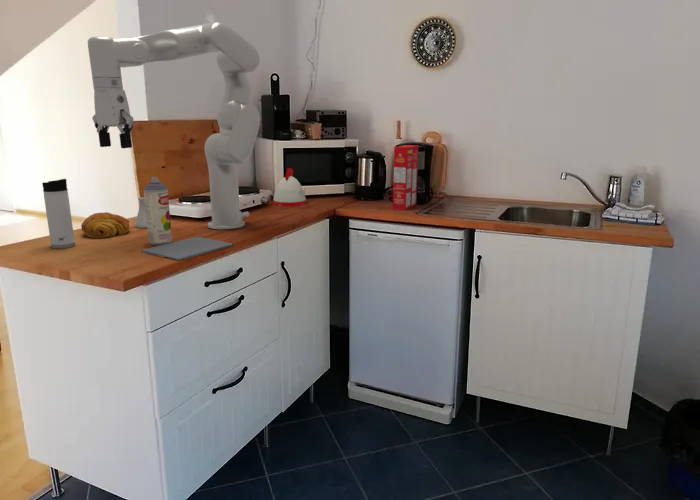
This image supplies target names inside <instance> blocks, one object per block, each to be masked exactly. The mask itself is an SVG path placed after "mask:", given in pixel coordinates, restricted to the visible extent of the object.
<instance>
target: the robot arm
mask: <svg viewBox="0 0 700 500" xmlns="http://www.w3.org/2000/svg"><path fill="white" fill-rule="evenodd" d="M87 49H88V56H89V65H90V71H91V79H92V80H91V81H92V85H93V91H94V93H93V95H94V96H93V97H94V98H93V99H94V100H93V101H94V112H95V114H94V115H93V116H92V118H91V119H92V121H93V123H94V127H95V129H96V132H97V133H98V141H99V147H101V148H106V147H111V146H112V143H111V135H110V133H111V132H108V131H109V129H110V127H113V128H114V127H117V130H119V143H120V148H121V149H130V148H132V147H133V144H132V143H133V142H132V135H131V134H132V131H133V127H134V125H133V123H134V117H133V116H132V115H131V112H130V107H129V101H128V98H127V94H126V91H125V89H124V84H123V79H122V77H123V76H122V69H121V68H131V67H132V68H135V67H140V66H143V65H145V64H147V63H153V62H165V61H166V62H170V61H174V60H175V61H176V60H182V59H186V58H191V57H196V56H201V55H206V54H212V53H217V54H216V64H217V66H218V68H219V70H220V72H221V74H222V75H223V78H224V83H225V86H224V92H223V95H222V99H221V101H220V106H219V109H218V113H217V118H216V120H217V124H218V126H219V127H220V128H221V129H222V130H224V131H227V132H230V133H225V132H224V133H223V132H218V133H213V134H211V135H209V136H208V138H207V139H206V141H205V143H204V154H205V155H204V156H205V159H206V163H207V168H208V177H209V179H208V180H209V193H210V194H209V195H210V209H211V210H210V211H211V221H209V222H208V223H207V227H208V228H209V229H213V230H221V231H222V230H233V229H240V228H243V227H244V226H246V222H245V221H244V220H243V219H245V218H248V217H250V212H249V211H243V212H242V211H241V210H240V196H239V195H240V193H239V176H238V174H239V173H238V169H237V165H238V164H239V165H240V164H244V163H246V162H247V161H248V160H249V158H250V157H251V156H252V153H253V150H254V147H255V143H256V140H257V136H258V132H259V129H260V124H261V115H260V111H259V109H258V108H257V107H256V106H255V105H254V104H253V103H251V102H250V98H251V94H252V93H251V91H252V89H251V83H250V80H249V78H248V75H247V73H252V72H254V71H256V69H258V68H259V65H260V61H261V58H260V53H259V51H258V50H257V48H256V47H255V46H254V45H253V44H252V43H250V42H249V41H248V40H247V39H245V38H244V37H243V36H242V35H240V34H239V32H237V31H236V30H235V29H233V28H232V27H230V26H228V25H227V24H225V23H223V22H220V21H215V22H208V23H202V24H196V25H191V26H183V27H176V28H171V29H167V30H161V31H159V32H154V33H151V34H147V35H142V36H135V37H126V38H113V37H111V36H91V37H90V38H88V40H87Z"/></svg>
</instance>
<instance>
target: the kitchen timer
mask: <svg viewBox="0 0 700 500" xmlns="http://www.w3.org/2000/svg"><path fill="white" fill-rule="evenodd" d="M286 170H287V171H286V172H285V174H284V177H283V178H281V179H280V181H279V182H278V184H277V185H276V187H274V190H273V199H272V200H273V205H274V206H279V207H297V206H303V205H306V204H307V200H306V199H307V198H306V191H305V187H304V186H302V184H301V183H300V181H298V179H297V178H296V177H294V170H293V168H287V169H286Z"/></svg>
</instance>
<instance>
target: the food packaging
mask: <svg viewBox="0 0 700 500" xmlns="http://www.w3.org/2000/svg"><path fill="white" fill-rule="evenodd" d="M418 163H419V144H417V145H416V144H404V145H400V146H399V145H398V146H394V147H393V179H392V180H393V182H392V183H393V185H392V188H393V189H392V210H395V211H397V210H398V211H406V210H410V209H411V208H413V207H414V206H416V205H417V196H418V195H417V194H418V193H417V192H418V168H419V167H418V166H419V164H418Z"/></svg>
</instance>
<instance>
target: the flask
mask: <svg viewBox="0 0 700 500" xmlns="http://www.w3.org/2000/svg"><path fill="white" fill-rule="evenodd" d="M137 199H138V201H139V202H138V203H139V205H138V211H137V214H136V215H137V216H136V218H135V223H134V227H135V228H140V229H144V228H145V229H147V222H146V211H145V201H144V196H143V197H138V198H137Z"/></svg>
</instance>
